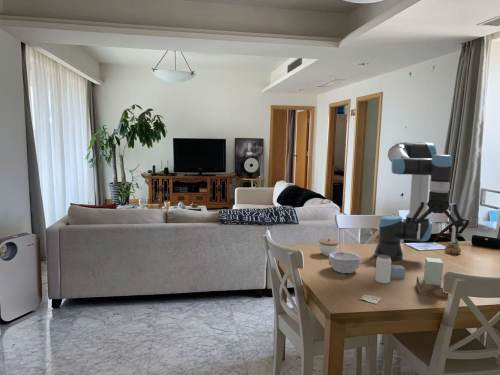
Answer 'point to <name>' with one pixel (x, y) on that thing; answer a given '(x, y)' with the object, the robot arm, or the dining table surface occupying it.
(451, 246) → the ornament
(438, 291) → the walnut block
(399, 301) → the dining table surface
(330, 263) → the paper bowls
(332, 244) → the lidded jar
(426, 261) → the sage block
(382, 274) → the can
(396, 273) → the slate block
